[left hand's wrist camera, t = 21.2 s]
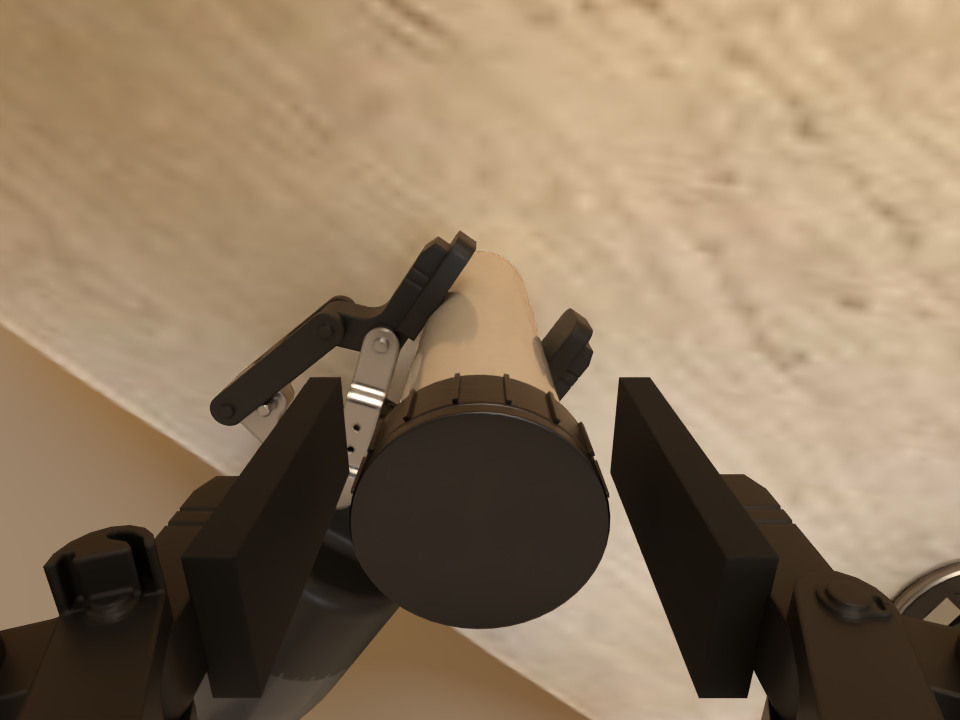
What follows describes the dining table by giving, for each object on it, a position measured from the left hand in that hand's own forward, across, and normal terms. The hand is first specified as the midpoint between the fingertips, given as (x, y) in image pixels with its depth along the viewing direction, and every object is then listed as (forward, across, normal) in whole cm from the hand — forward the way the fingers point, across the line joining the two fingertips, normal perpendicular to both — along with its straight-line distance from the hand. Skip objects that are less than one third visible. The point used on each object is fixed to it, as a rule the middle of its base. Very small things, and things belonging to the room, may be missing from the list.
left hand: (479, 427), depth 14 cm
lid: (-4, 0, 0) cm, 4 cm away
